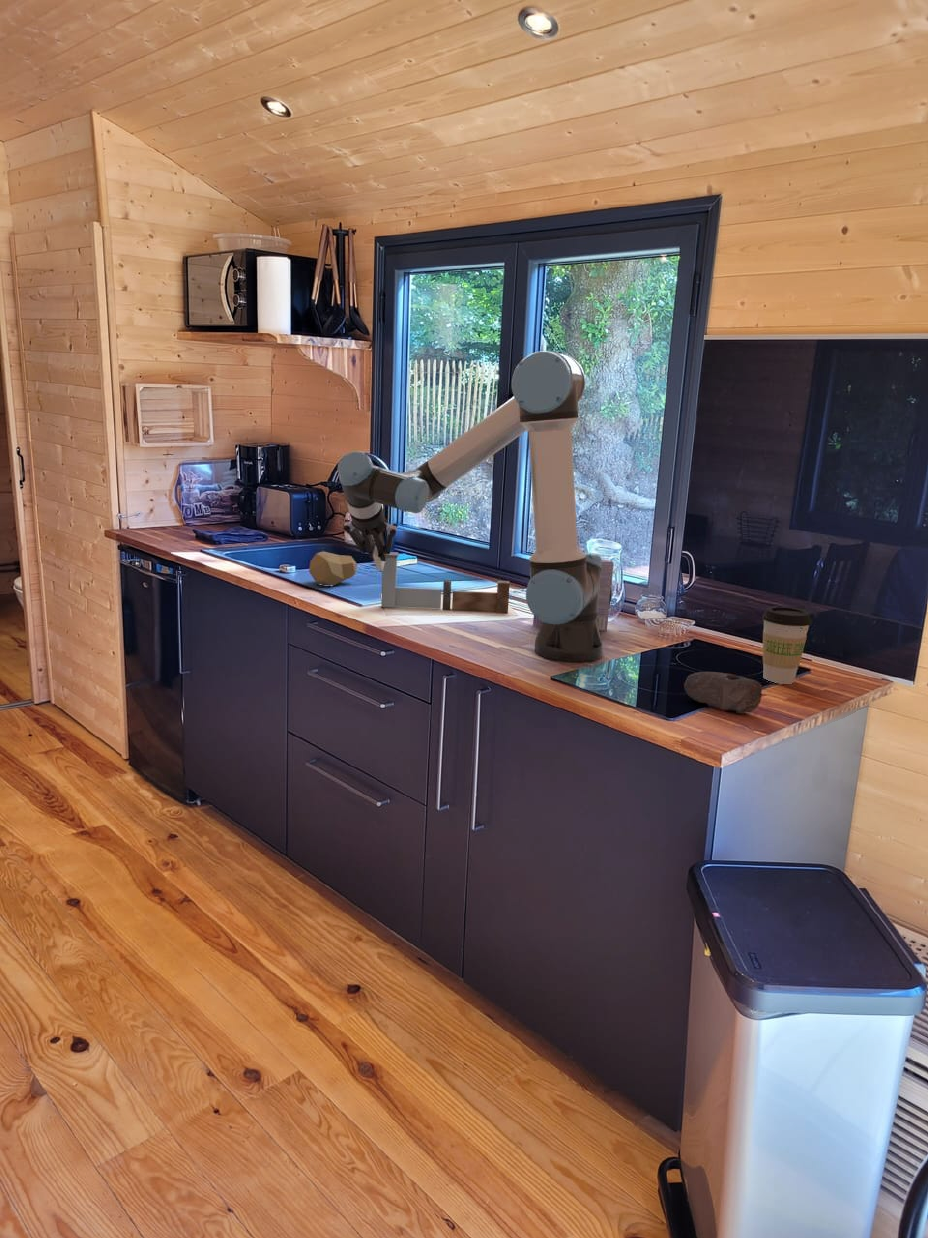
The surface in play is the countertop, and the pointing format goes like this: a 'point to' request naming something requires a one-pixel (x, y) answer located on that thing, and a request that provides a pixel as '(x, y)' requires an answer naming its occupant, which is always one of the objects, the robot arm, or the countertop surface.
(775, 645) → the coffee cup
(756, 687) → the perforated stone tool
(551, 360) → the robot arm
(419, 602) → the grey wall with post
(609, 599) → the cake pan box
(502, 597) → the fixed fence rail
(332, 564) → the low-poly potato
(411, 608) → the board
